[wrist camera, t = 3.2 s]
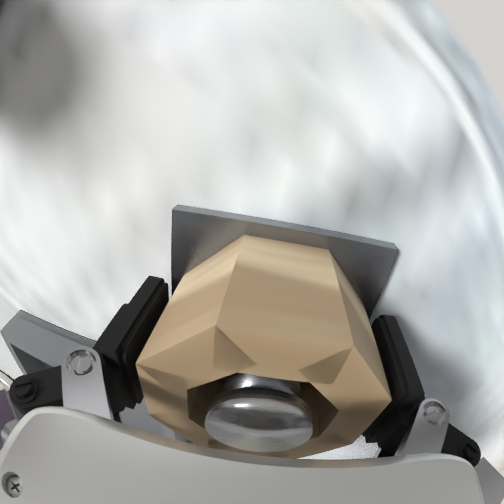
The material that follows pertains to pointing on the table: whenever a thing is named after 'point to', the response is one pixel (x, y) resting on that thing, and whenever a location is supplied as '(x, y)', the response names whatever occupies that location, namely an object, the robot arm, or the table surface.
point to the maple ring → (266, 342)
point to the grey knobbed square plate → (258, 387)
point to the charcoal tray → (51, 354)
